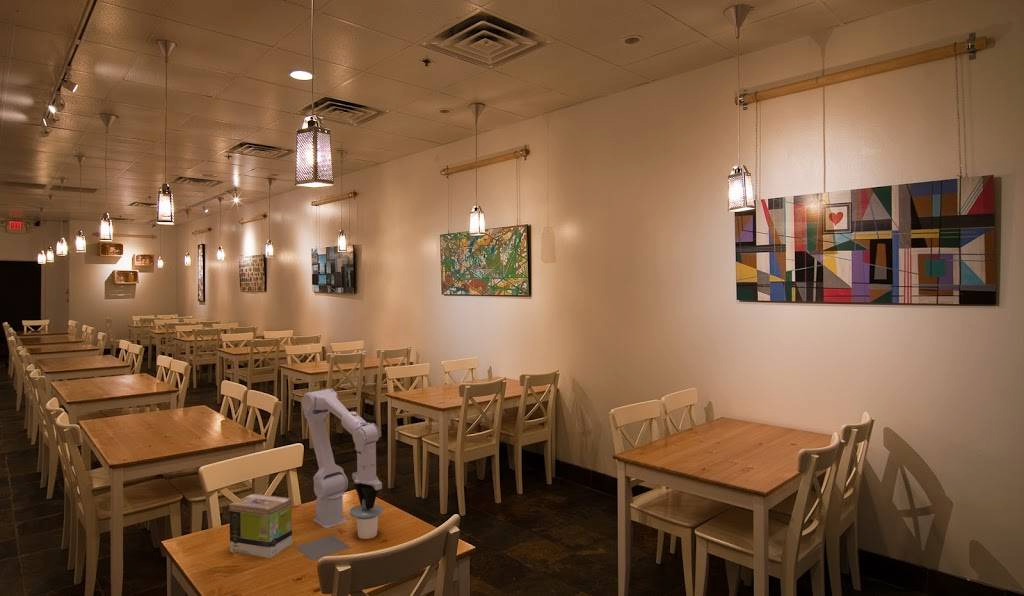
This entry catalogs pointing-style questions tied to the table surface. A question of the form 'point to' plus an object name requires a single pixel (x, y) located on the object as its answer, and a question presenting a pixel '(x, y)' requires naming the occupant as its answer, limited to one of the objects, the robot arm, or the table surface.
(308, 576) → the table surface
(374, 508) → the lid
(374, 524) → the white cylinder
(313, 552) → the mat
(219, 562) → the table surface
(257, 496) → the tea box
